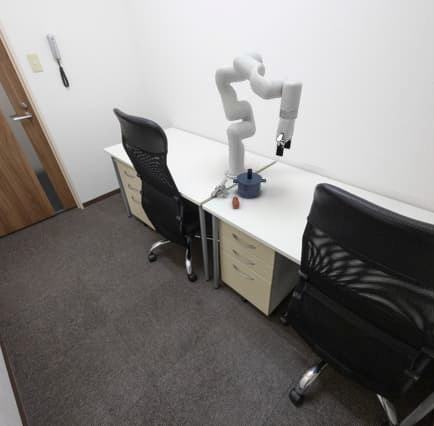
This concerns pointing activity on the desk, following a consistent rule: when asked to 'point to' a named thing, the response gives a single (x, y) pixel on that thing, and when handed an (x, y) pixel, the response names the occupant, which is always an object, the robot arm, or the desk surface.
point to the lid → (249, 178)
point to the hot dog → (235, 202)
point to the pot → (249, 189)
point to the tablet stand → (221, 186)
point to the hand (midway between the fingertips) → (283, 152)
